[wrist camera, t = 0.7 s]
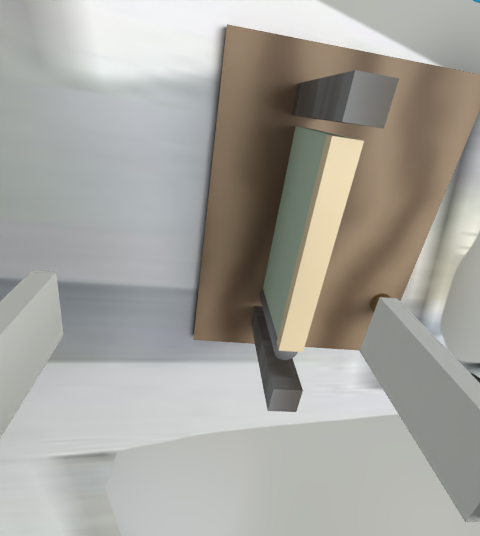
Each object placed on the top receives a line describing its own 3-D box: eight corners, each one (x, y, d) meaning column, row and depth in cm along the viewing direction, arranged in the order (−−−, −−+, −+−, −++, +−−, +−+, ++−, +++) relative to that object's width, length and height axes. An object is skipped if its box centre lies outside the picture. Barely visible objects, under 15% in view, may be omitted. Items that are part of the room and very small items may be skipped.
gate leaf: (258, 302, 36) (274, 368, 27) (293, 125, 28) (332, 135, 19) (276, 303, 36) (298, 369, 27) (315, 129, 29) (364, 140, 20)
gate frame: (193, 334, 39) (187, 432, 27) (226, 27, 26) (240, -35, 14) (375, 346, 42) (438, 438, 30) (484, 77, 29) (665, 60, 18)
